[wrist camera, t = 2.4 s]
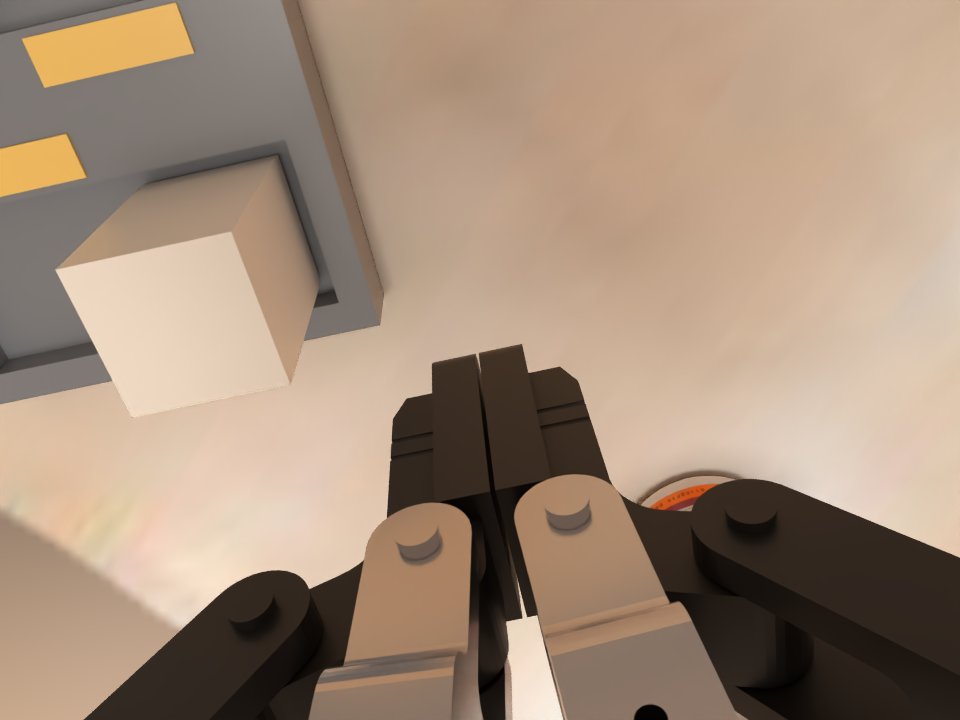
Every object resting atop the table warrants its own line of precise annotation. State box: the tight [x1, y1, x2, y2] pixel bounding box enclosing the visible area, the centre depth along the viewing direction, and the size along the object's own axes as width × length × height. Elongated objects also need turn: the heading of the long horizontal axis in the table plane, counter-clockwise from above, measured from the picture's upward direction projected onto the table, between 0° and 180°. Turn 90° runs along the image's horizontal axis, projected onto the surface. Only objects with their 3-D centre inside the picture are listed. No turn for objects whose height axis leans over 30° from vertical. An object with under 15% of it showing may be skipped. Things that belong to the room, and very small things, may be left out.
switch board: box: [0, 0, 384, 404], centre depth 22 cm, size 13×16×2 cm
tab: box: [56, 155, 321, 418], centre depth 21 cm, size 4×4×6 cm
